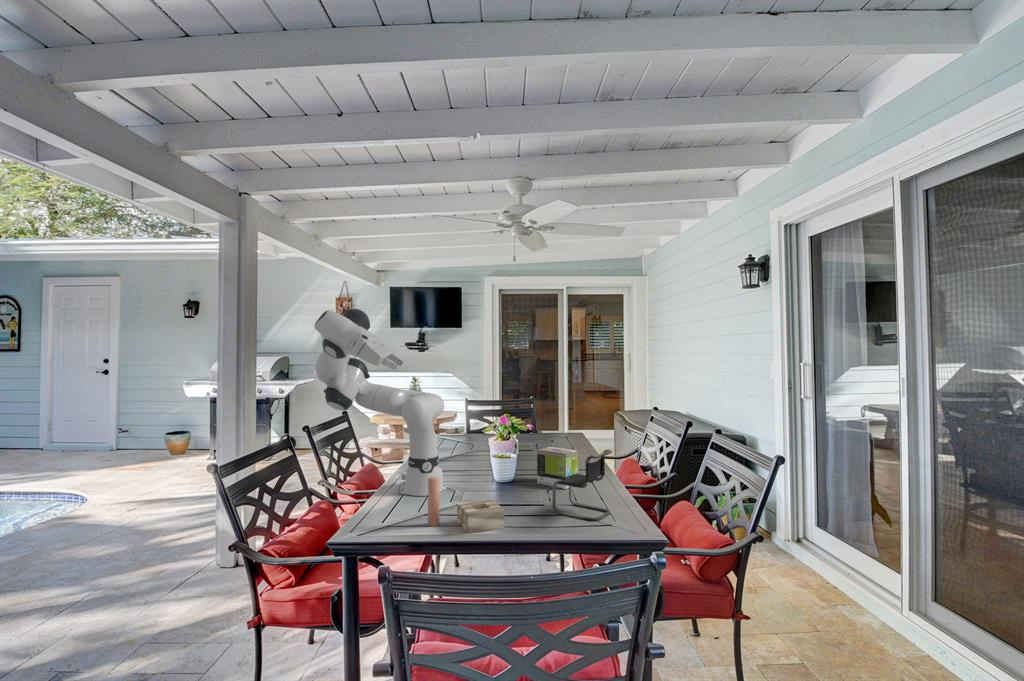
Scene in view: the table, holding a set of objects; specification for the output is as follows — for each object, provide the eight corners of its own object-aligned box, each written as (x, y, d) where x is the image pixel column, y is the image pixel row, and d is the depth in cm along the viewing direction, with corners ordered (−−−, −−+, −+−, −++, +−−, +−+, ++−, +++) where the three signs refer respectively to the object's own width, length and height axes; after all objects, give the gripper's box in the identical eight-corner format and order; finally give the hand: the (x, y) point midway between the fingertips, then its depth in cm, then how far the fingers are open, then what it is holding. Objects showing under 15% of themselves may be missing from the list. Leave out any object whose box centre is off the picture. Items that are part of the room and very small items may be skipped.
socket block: (457, 521, 172) (457, 503, 172) (491, 517, 176) (491, 499, 176) (468, 533, 160) (468, 514, 161) (504, 528, 165) (504, 509, 165)
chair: (596, 522, 170) (596, 455, 171) (551, 513, 181) (551, 449, 181) (613, 512, 181) (613, 449, 181) (570, 504, 191) (570, 444, 191)
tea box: (579, 485, 218) (579, 449, 218) (565, 490, 210) (565, 453, 210) (550, 479, 228) (550, 445, 228) (536, 483, 220) (536, 448, 220)
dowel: (426, 523, 169) (427, 477, 170) (437, 522, 171) (437, 476, 171) (429, 527, 166) (429, 480, 166) (440, 525, 167) (440, 479, 168)
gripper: (366, 348, 178) (400, 369, 179) (348, 355, 158) (388, 378, 159) (375, 333, 178) (410, 354, 179) (359, 337, 157) (398, 361, 158)
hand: (399, 365), depth 169 cm, fingers open, 8 cm apart
